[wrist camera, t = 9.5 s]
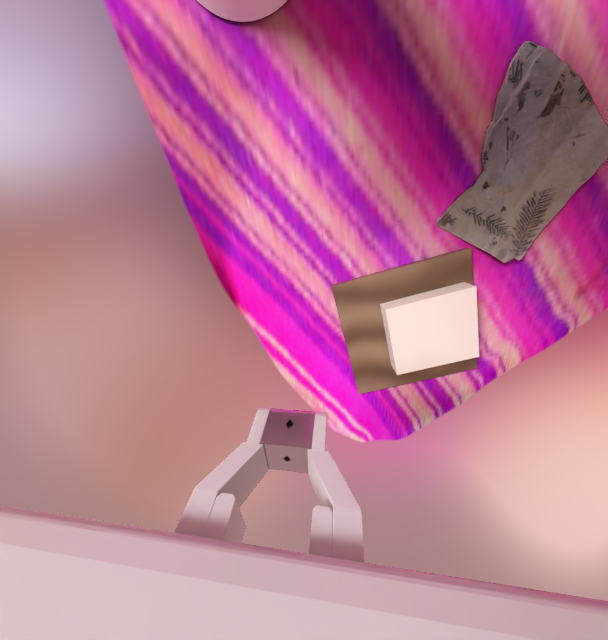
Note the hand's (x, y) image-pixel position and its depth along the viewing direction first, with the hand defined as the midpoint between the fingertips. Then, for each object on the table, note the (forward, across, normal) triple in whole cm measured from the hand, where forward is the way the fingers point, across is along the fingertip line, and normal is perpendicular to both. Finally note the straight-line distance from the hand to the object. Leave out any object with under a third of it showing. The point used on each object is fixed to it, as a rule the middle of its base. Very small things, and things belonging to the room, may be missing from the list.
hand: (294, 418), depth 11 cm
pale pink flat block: (+21, -9, +11) cm, 26 cm away
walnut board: (+24, -12, +11) cm, 29 cm away
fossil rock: (+30, -22, -8) cm, 38 cm away
